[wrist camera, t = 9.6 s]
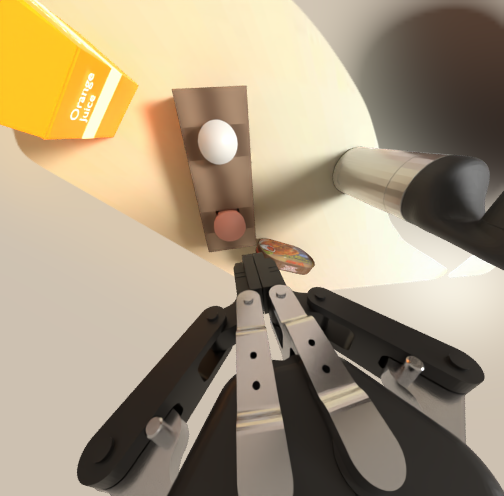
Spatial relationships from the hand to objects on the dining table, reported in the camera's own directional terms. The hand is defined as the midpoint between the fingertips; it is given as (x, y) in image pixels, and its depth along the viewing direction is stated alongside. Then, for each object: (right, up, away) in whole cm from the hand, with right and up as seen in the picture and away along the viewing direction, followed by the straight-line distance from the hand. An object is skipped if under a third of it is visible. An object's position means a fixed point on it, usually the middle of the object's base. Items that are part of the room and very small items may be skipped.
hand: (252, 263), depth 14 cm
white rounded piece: (-6, +20, +18) cm, 27 cm away
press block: (-6, +15, +22) cm, 27 cm away
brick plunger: (-5, +8, +24) cm, 26 cm away
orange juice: (-22, +24, +13) cm, 35 cm away
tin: (+7, +1, +34) cm, 34 cm away
